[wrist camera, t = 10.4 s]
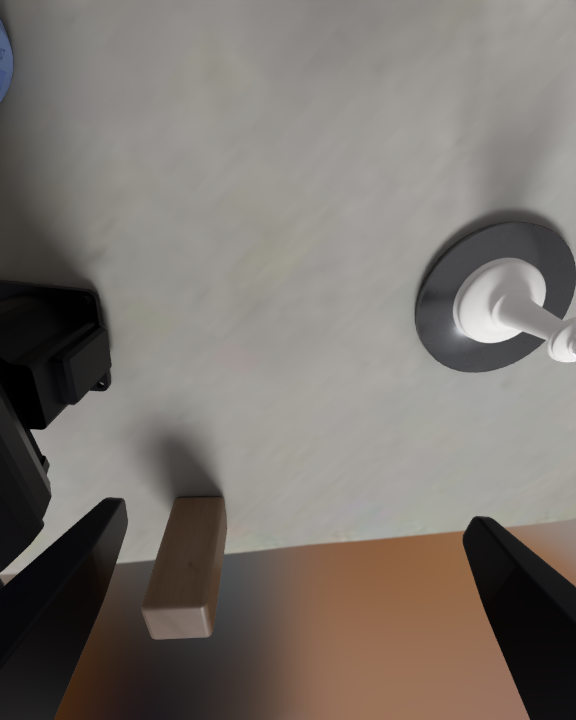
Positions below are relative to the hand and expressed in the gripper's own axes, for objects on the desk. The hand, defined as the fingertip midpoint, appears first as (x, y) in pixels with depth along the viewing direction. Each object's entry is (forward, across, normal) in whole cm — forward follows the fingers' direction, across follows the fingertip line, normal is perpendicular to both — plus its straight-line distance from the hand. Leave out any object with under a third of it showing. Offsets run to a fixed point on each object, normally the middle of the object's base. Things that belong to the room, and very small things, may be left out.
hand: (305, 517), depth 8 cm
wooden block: (+13, +5, +17) cm, 22 cm away
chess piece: (+13, -12, -3) cm, 18 cm away
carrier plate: (+13, -12, -3) cm, 18 cm away
